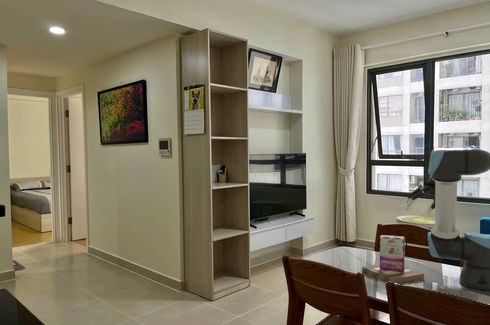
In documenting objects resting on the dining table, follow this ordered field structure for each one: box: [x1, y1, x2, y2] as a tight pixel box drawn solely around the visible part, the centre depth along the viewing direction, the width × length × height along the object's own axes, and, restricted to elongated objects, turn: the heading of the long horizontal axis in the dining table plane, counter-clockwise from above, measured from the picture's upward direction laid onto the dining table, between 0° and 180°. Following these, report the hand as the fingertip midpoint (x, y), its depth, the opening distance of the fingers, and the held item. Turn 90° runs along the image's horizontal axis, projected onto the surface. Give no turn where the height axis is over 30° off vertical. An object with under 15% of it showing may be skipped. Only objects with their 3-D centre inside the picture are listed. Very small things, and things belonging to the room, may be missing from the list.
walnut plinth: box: [361, 263, 425, 285], centre depth 179 cm, size 20×20×3 cm
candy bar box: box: [379, 234, 406, 272], centre depth 179 cm, size 11×5×16 cm, turn 62°
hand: (416, 210), depth 194 cm, fingers open, 13 cm apart
